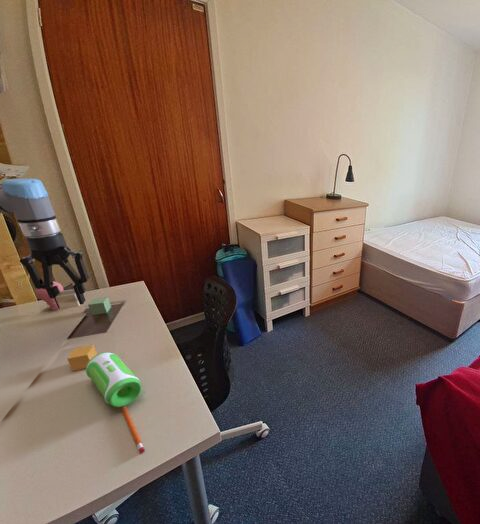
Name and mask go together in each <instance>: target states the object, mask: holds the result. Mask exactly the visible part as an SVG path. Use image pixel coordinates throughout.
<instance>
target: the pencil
mask: <svg viewBox="0 0 480 524" xmlns="http://www.w3.org/2000/svg"><path fill="white" fill-rule="evenodd" d="M119 408H120V410H121V412H122V414H123V415H122V416H123V417H124V420H125V422H126V424H127V426H128V429H129V431H130V433H131V436H132V438H133V440H134V443H135V445H136V448H137V450H138V452H139V454H142V453H144V452H145V447H144V445H143V443H142V440H141V439H140V437H139V434H138V431H137V430H136V429H137V428H136V427H135V425H134V423H133V421H132V419H131V418H132V417H131V416H130V414H129V411H128V409H127V407H126V406H122V407H119Z"/></svg>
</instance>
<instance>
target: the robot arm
mask: <svg viewBox="0 0 480 524" xmlns="http://www.w3.org/2000/svg"><path fill="white" fill-rule="evenodd" d="M0 214H14V216H15V219H16V221H17V223H18V225H19V227H20V229H21V232H22V234H23V236H24V237H25V241H26V244H27V246H28V248H29V250H30V255H25V256H23V257H22V258H21V259H19V263H20V264H21V265H23V267H25V269H26V272H27V273H28V275H29V277H30V279H31V282H32V284H33V286H34V288H35V289H45V290H46V291H47V293H48V295H49V297H50V298H54V299H55V302H56V304H57V306H58V308H60V307H59V305H58V302H57V300H56V298H55V297H56V296H57V295H58V294H59V293H60V291H59V289H58V286H54V287H53V285H54V284H53V281H54V276H53V275H54V274H53V266H57V265H58V266H59V267H61V268H62V269H63V271H64V272H65V273H66V274H67V276H68V277H69V278H70V279H71V281H72V283H74V284H73V286H72V289H74V291H75V293H76V295H77V298H78V300H79V303H80V306H82V305H84V304H85V302H86V298H85V293H86V287H85V284H84V283H87V282H88V281H89V279H90V276H89V273H88V270H87V267H86V264H85V261H84V259H83V256H84V251H82V250H78V251H76V250H72V249H70V247H68V245H67V242H66V239H65V236H64V234H63V233H62V229H61V226H60V224H59V221H58V219H57V217H56V213H55V211H54V207H53V205H52V203H51V200H50V197H49V192H47V190H46V188H45V186H44V183H43V181H41V180H40V179H38V178H31V177H27V178H25V177H24V178H23V177H21V178H19V177H18V178H9V179H7V178H6V179H3V180H2V181H1V185H0ZM70 256H71V257H72V259H74V263H75V266H76V269H77V270H78V272H77V270H76V269H75V268H74V266H73V265H72V263H71V261H70V260H69V257H70ZM35 261H37V262H39V263H40V264H41V269H42V275H41V273H40V271H39V269H38V266H37V264H36V263H35ZM42 276H43V277H42Z"/></svg>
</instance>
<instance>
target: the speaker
mask: <svg viewBox="0 0 480 524" xmlns="http://www.w3.org/2000/svg"><path fill="white" fill-rule="evenodd" d="M85 372H86V373H85V374H86V376H87V377H88V378H90V380H91V381H92V383H93V385H94V386H95V387H96V388H97V390H98V392H99V393H100V394H101V396H102V397H103V400H104V402H105V403H106V404H108V405H110V406H112V407H114V408H120V407H122V406H125V407H126V406H129V405H130V404H132V403H133V402H135V400H136V399H137V398H138V397H139V396H140V394H141V392H142V383H141V381H140V379H139V378H138V377H137V376H136V375H135V374H134V373H133V371H131V370H130V368H129V367H128V366H127V364H125V363H124V361H122V360H121V358H120V356H119V355H117V354H116V353H113V352H109V351H105V352H100V353H97V355H96V356H94V357H93V358H91V359H90V360H89V362H88V363H87V366H86V368H85Z"/></svg>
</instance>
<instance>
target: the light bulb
mask: <svg viewBox="0 0 480 524" xmlns="http://www.w3.org/2000/svg"><path fill="white" fill-rule="evenodd" d="M53 284H54V285H53V287H54V286H58V289H59V291H64V287H63V285H62V284H61V283H59V282H58V281H54V280H53ZM34 293H35V296H36V297H37V298H38V299H40V300H42V301H44V303H46V305H47V306H49V309H50V311H51V310H52V311H58V310H61V309H60V308H58V306H57V304H56V302H55V299H54V298H50V297H49V295H48V293H47V291H46V290H45V289H36V288H35V290H34Z"/></svg>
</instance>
